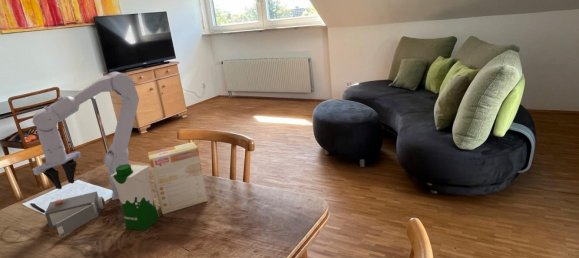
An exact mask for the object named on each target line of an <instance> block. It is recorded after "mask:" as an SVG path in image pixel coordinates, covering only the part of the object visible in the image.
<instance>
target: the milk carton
mask: <svg viewBox="0 0 579 258" xmlns="http://www.w3.org/2000/svg"><path fill="white" fill-rule="evenodd" d="M110 177H111V179H112V181H113V183H114V184H115V186H116V188H117V192H118V196H119V199H118V200H119V202H120V207H121V210H122V215H123V220H124V224H125V229H126V230H132V231H133V230H134V231H135V230H136V231H141V232H146V230H148V229H149V228H150V227H151V226H153V224H154V223H156V222H157V221H158V220H160V215H159V213H158V210H157V207H156V203H155V200H154V195H153V190H152V187H151V182H150V166H149V165H138V164H130V163H129V164H125V165H121V166H118V167H117V168H116V172H115V173H114V174H112V175H110Z"/></svg>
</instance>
